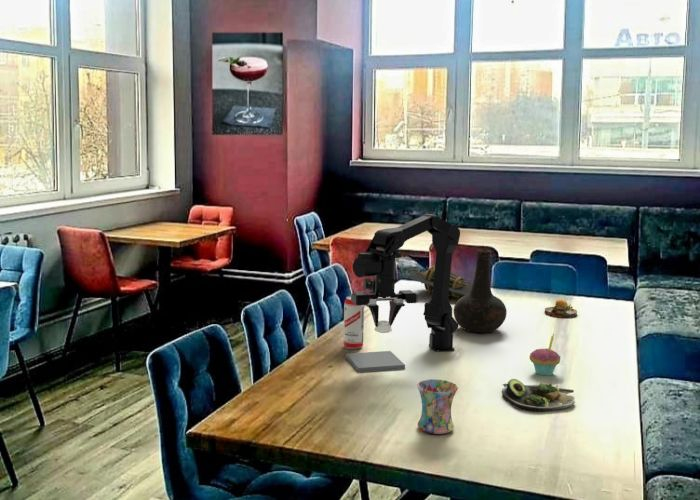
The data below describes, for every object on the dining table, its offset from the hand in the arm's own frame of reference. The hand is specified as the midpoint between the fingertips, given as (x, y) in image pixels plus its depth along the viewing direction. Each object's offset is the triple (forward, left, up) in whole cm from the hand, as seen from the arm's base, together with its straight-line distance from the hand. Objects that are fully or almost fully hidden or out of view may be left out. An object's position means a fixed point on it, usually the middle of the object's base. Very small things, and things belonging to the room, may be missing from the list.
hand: (383, 326), depth 227 cm
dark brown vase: (-44, -29, -12) cm, 54 cm away
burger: (-84, -44, -12) cm, 96 cm away
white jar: (0, 0, -2) cm, 2 cm away
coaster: (+2, -1, -11) cm, 12 cm away
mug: (+3, +51, -12) cm, 52 cm away
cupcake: (-43, +18, -12) cm, 48 cm away
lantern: (-50, -84, -12) cm, 99 cm away
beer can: (+4, -18, -12) cm, 22 cm away
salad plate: (-30, +37, -12) cm, 49 cm away
